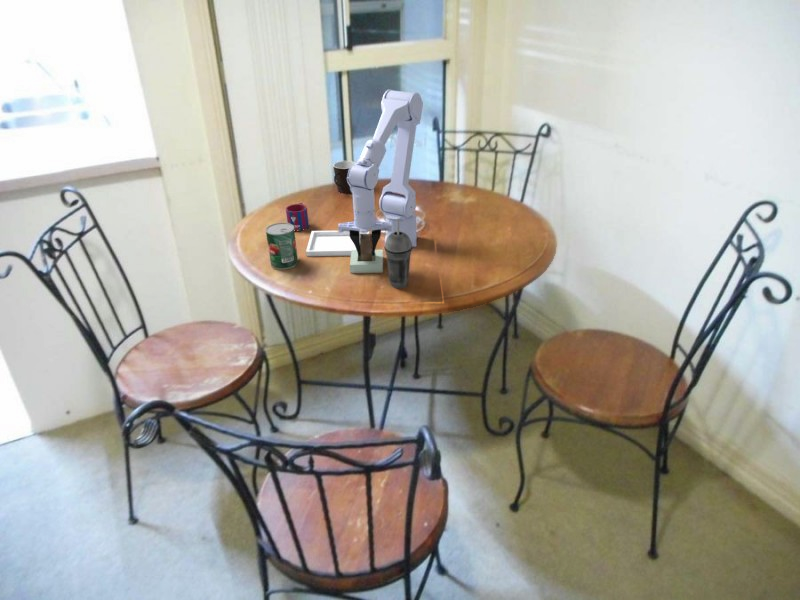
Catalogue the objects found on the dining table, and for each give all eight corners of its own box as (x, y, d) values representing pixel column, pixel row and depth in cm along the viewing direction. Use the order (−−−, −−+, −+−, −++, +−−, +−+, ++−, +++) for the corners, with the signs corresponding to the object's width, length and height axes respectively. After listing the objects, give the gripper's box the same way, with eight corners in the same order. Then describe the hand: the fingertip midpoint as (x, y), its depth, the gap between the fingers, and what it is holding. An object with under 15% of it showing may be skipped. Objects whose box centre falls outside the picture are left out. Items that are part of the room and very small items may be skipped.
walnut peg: (372, 262, 162) (371, 233, 158) (372, 267, 160) (370, 238, 155) (362, 262, 162) (360, 233, 158) (361, 267, 160) (359, 238, 155)
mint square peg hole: (383, 258, 165) (382, 249, 164) (382, 273, 158) (382, 264, 156) (352, 259, 165) (351, 250, 164) (350, 274, 158) (349, 264, 156)
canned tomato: (264, 265, 163) (259, 230, 157) (284, 254, 169) (279, 220, 163) (285, 272, 159) (280, 236, 153) (304, 261, 165) (299, 226, 159)
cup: (285, 230, 182) (282, 211, 179) (296, 218, 191) (293, 199, 187) (304, 232, 181) (302, 212, 178) (315, 219, 189) (313, 200, 186)
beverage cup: (411, 278, 155) (411, 210, 145) (413, 292, 149) (413, 222, 138) (385, 279, 155) (383, 211, 145) (385, 293, 149) (383, 223, 138)
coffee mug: (349, 184, 216) (347, 159, 211) (362, 191, 211) (361, 164, 206) (323, 192, 210) (321, 166, 205) (337, 199, 205) (335, 172, 199)
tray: (369, 235, 178) (369, 230, 177) (367, 256, 167) (367, 250, 165) (312, 236, 178) (311, 231, 177) (306, 257, 166) (305, 251, 165)
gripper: (335, 215, 149) (339, 261, 156) (391, 214, 149) (392, 260, 156) (338, 205, 155) (341, 249, 162) (391, 204, 155) (392, 248, 162)
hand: (366, 254), depth 159 cm, fingers open, 3 cm apart
